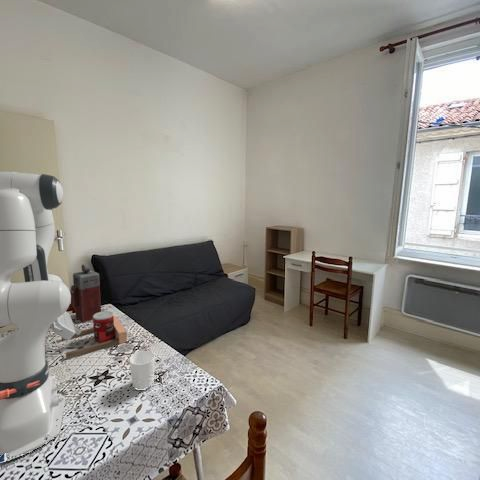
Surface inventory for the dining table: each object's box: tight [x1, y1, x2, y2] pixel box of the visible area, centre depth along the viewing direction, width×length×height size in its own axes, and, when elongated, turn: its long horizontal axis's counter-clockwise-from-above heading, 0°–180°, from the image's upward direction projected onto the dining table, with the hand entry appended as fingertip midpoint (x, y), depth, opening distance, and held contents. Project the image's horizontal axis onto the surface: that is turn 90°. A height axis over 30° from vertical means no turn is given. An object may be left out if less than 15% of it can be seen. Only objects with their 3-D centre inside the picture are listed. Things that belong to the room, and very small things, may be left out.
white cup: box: [129, 350, 156, 389], centre depth 90 cm, size 8×8×10 cm
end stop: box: [113, 315, 128, 345], centre depth 122 cm, size 18×3×5 cm, turn 38°
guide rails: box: [61, 327, 120, 360], centre depth 115 cm, size 18×19×2 cm
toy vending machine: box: [69, 263, 102, 324], centre depth 135 cm, size 9×11×28 cm
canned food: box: [92, 310, 115, 343], centre depth 118 cm, size 8×8×11 cm
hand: (79, 332), depth 112 cm, fingers closed
